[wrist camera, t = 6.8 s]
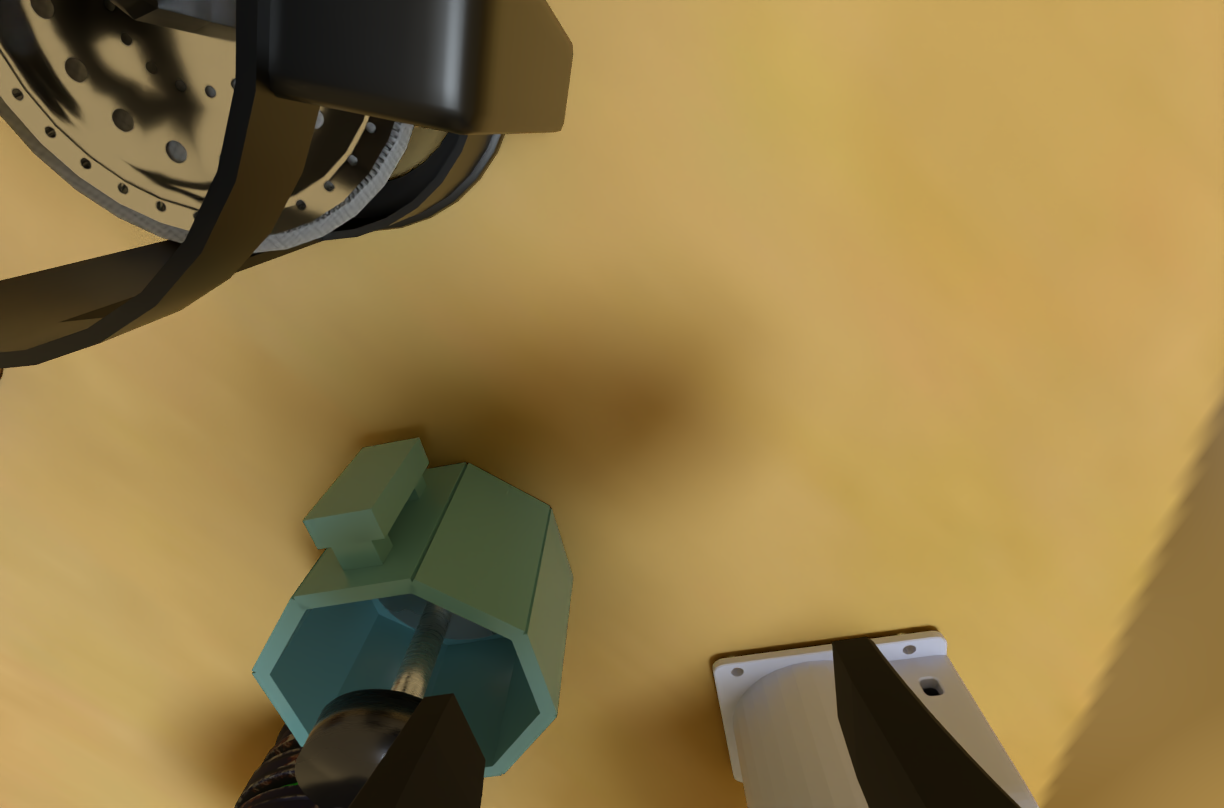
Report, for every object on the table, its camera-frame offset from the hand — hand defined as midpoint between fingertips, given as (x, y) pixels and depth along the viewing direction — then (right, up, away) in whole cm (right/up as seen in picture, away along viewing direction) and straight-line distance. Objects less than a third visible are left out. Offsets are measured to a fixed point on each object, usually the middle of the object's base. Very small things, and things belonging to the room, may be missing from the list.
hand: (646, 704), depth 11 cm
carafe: (-7, 0, +12) cm, 14 cm away
